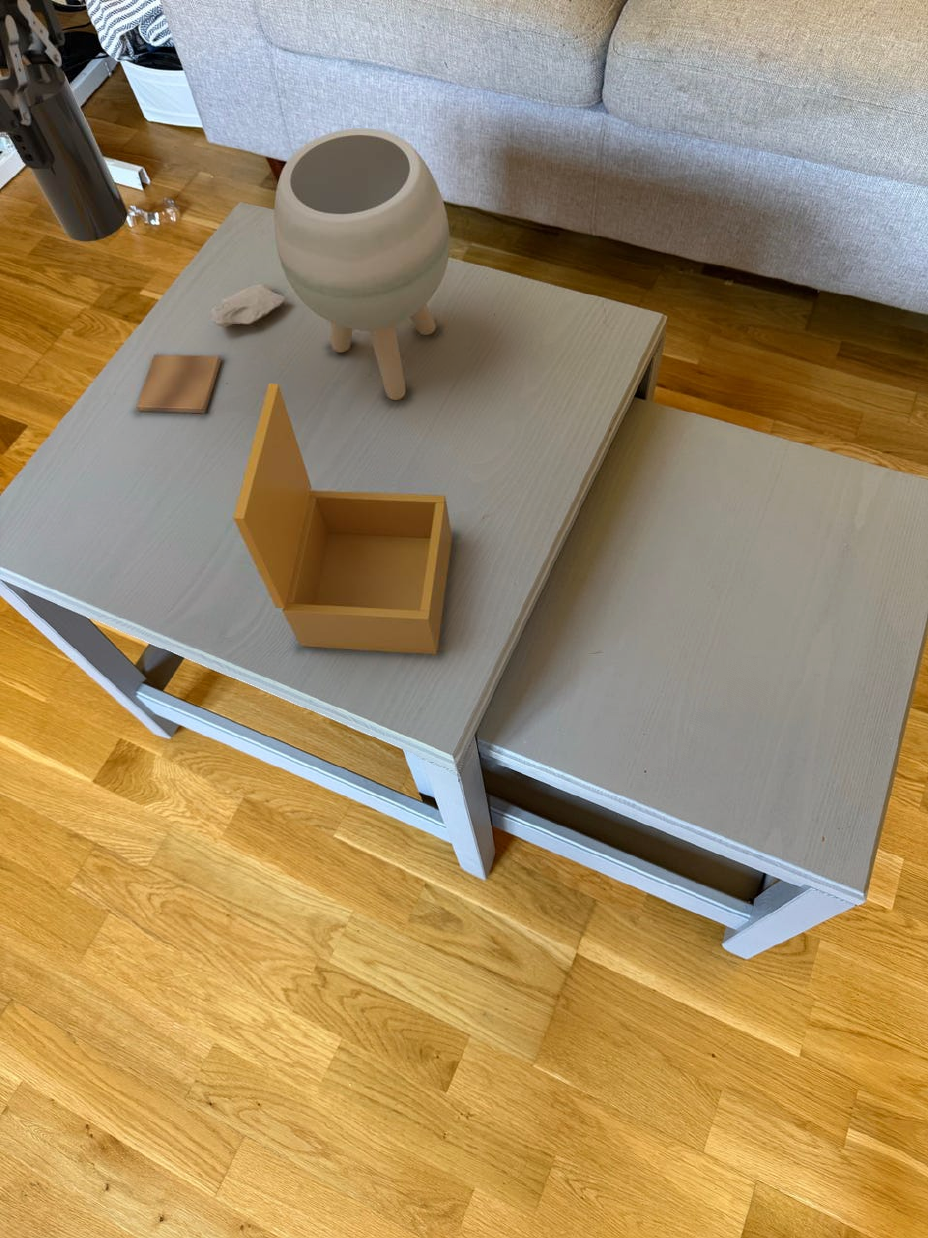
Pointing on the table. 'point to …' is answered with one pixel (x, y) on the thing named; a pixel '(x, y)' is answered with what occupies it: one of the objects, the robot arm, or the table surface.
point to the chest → (370, 572)
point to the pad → (179, 384)
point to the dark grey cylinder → (71, 159)
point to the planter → (363, 238)
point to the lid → (274, 497)
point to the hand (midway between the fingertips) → (54, 139)
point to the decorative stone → (246, 306)
